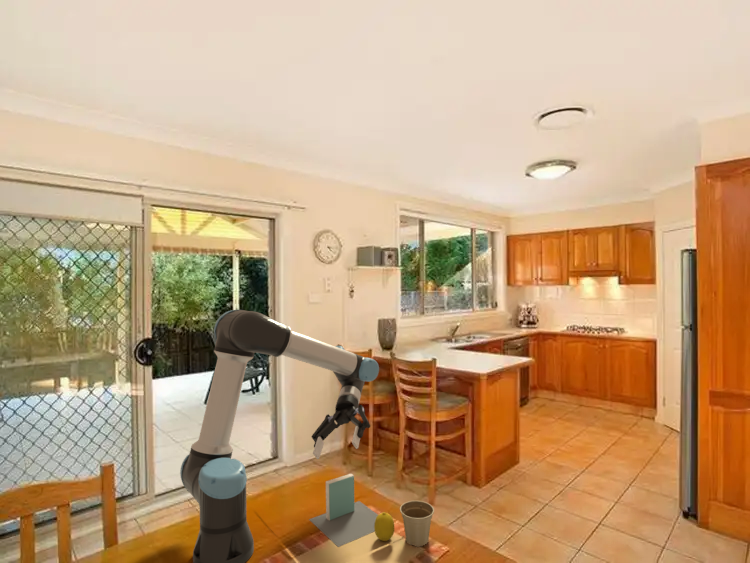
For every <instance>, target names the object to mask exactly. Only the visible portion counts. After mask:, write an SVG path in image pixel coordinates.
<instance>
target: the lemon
mask: <svg viewBox="0 0 750 563" xmlns="http://www.w3.org/2000/svg"><path fill="white" fill-rule="evenodd" d="M374 529H375V532H374V533H375V536H376V537H377V539H379V540H380V541H383V542H386V541H389V540H390V539H392V538H393V535H394V533H395V521H394V519H393V516H392V515H391V514H389V513H388V512H385V511H383V512H381V513H379V514H378V516H377V517H376V520H375V525H374Z"/></svg>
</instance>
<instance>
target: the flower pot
mask: <svg viewBox="0 0 750 563" xmlns="http://www.w3.org/2000/svg"><path fill="white" fill-rule="evenodd" d="M399 512H400V514H401V517H402V521H403V526H404V528H403V529H404V534H405V541H406V543H407V544H408V545H410V546H412V545H413V546H415V547H423V545H424V546H426V545H427V544H428V542H429V538H430V529H431V522H432V519H433V515H434V514H435V508H434V506H432V504H430V503H429V502H427V501H423V500H409V501H405V502H404V503H402V504H401V505H400V507H399ZM425 544H426V545H425Z"/></svg>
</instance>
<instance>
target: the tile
mask: <svg viewBox="0 0 750 563" xmlns="http://www.w3.org/2000/svg"><path fill="white" fill-rule="evenodd" d="M354 503H355V475H354V474H353V473H348V474H346V475H342V476H338V477H336V478H332V479H329V480H326V481H325V509H326V510H325V513H326V518H327V519H328V520H332V519H335V518H337V517H340V516H342V515H345V514H348V513H350V512H353V511H355V508H354Z"/></svg>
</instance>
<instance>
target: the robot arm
mask: <svg viewBox="0 0 750 563" xmlns="http://www.w3.org/2000/svg"><path fill="white" fill-rule="evenodd" d="M213 332H214V337H215V339H216V341H215V346H214V349H213V353H214V354H215V355H216V357H217V360H216V364H215V369H214V372H213V377H212V382H211V385H210V391H209V394H208V399H207V403H206V407H205V411H204V415H203V420H202V423H201V428H200V432H199V436H198V439H197V441H195V442H194V443H192V444H191V447H190V449H189V453H188V454H187V455H186V456H185V457H184V459H183V461H182V463H181V465H180V472H179V474H180V480H181V482H182V485H183V487H184V489H186V491H187V492H188V493H190V495H192V496H191V497H193V498H194V499H195V501H196V503H198V506H199V532H198V534H197V539H196V541H195V545H194V548H193V551H192V563H246V562H248V560H249V559H250V558H252V556H253V553H254V550H255V547H254V546H255V545H254V544H255V543H254V542H255V541H254V537H253V534H252V532H251V531H252V530H251V528H250V526H249V523H248V522H247V520H248V519H247V479H248V478H247V473H246V472H247V471H246V467H245V465H244V463H243V462H241V461H240V460H239V459H236V458H232V455H233V451H234V449H233V447H232V446H231V444H230V440H231V436H232V430H233V426H234V422H235V417H236V413H237V409H238V404H239V401H240V400H239V399H240V396H241V391H242V386H243V382H244V377H245V373H246V368H247V364H248V362H249V361H251V360H252V359H254V357H255V353H257V354H263V355H267V356H268V355H269V356H272V357H275V358H279V357H281V356H285V357H287V358H290V359H293V360H295V361H296V360H297V361H299V362H302V363H305V364H310V365H312V366H315V367H319V368H322V369H324V370H328V371H332V373H333V375H335V377H336V379H337V380H338V382H339V383H340V385H341V386H340V391H339V394H338V397H337V401H336V404H335V410H334V413H333V415H330V413H328V414H326V415H325V417H324V420H323V421H322V422H321V423H320V424H319V426H318V427H317V428H316V430H315V431H314V432H313V433H312V435H311V439H312V440H313V442H314V444H313V448H314V449H313V452H312V454H313V455H314V457H315V458H316V460H319V459H320V457H321V453H322V451H323V448H324V444H325V442H324V441H325V439H326V438H328V436H330V435H331V434H332V432H333V431H335V429H339V427H341V426H343V425H345V424H349V422H351V423H352V424H354V425H355V428H354V433H353V436H352V440H351V443H352V445H353V447H354V448H355V449H356V450H357V449H359V447H360V442H361V441H360V440H361V438H363V436H364V431H365V430H366V429H369V428H371V424H370V422H369V419H368V417H367V416H366V410H365V408H364V406H363V405H362V404H360V401H361V398H362V393H363V388H364V386H365V382H366V383H368V382H369V383H370V382H373V381H374V380H376V379H377V377H378V376H379V372H380V367H379V366H380V365H379V363H378V362H377V361H376V360H375V359H373V358H371V357H365V356H362V355H360V354H357V353H354V352H351V351H349V350H346V349H345V347H343V346H342V345H332V344H330V343H327V342H324V341H321V340H318V339H316V338H314V337H310V336H308V335H306V334H303V333H299V332H297V331H294V330H292V329H291V327H290V326H289V325H287V324H284V323H282V322H280V321H278V320H275V319H273V318H272V317H269V316H267V315H265V314H263V313H261V312H259V311H253V310H244V309H232V310H228V311H225V312H224V313H223V314H221V315H220V316H219V317H218V318H217V320H216V321H215V324H214V328H213ZM356 415H360V417H361V420H362V421H360V420H359V419H357V417H356Z"/></svg>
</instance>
